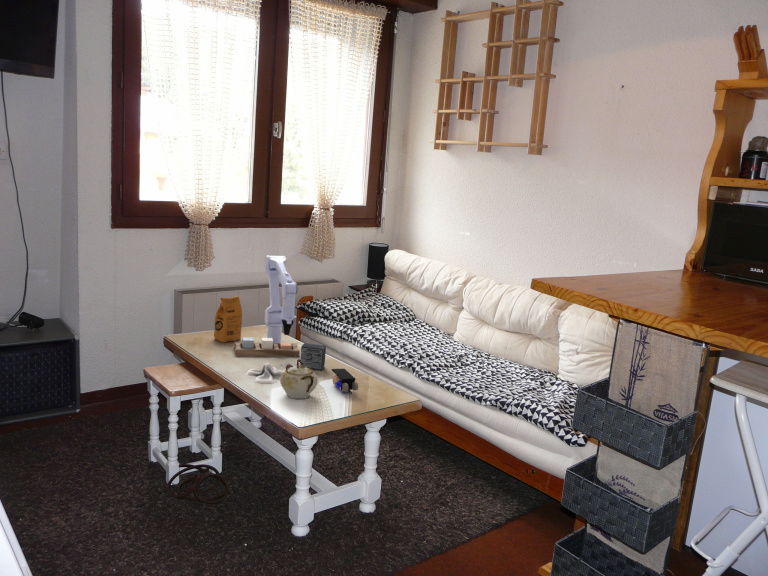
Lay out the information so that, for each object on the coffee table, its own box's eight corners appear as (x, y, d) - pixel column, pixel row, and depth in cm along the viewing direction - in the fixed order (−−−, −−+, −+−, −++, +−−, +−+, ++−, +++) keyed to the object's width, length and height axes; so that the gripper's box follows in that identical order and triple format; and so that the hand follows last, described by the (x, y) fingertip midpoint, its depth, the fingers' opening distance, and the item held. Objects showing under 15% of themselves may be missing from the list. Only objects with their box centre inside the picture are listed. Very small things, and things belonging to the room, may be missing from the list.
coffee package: (211, 338, 328) (213, 295, 323) (231, 335, 337) (234, 293, 333) (222, 343, 321) (224, 300, 317) (243, 340, 330) (245, 297, 326)
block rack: (234, 348, 315) (234, 342, 315) (296, 349, 323) (296, 343, 323) (235, 355, 304) (235, 349, 303) (299, 356, 312) (299, 350, 311)
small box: (325, 366, 301) (326, 345, 299) (322, 371, 294) (324, 348, 292) (302, 364, 301) (304, 342, 299) (299, 368, 295) (300, 346, 293)
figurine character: (358, 398, 269) (342, 382, 281) (360, 381, 266) (345, 366, 279) (343, 400, 265) (328, 383, 278) (345, 383, 263) (330, 367, 276)
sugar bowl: (269, 389, 265) (271, 354, 262) (300, 384, 274) (303, 350, 271) (294, 406, 250) (297, 369, 247) (326, 400, 259) (329, 364, 256)
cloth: (261, 387, 268) (262, 373, 267) (236, 374, 281) (236, 360, 279) (303, 378, 284) (304, 364, 283) (278, 366, 296) (278, 353, 295)
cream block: (261, 345, 315) (261, 337, 314) (271, 345, 316) (272, 338, 315) (261, 348, 310) (262, 340, 309) (272, 349, 311) (273, 340, 311)
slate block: (242, 345, 313) (242, 337, 312) (252, 345, 314) (253, 337, 313) (242, 348, 308) (243, 340, 307) (253, 348, 309) (253, 340, 308)
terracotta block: (279, 350, 318) (280, 342, 317) (289, 350, 319) (290, 342, 318) (280, 353, 313) (281, 345, 312) (291, 353, 314) (291, 345, 314)
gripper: (298, 311, 306) (296, 339, 309) (295, 303, 320) (293, 330, 322) (283, 310, 304) (281, 338, 307) (280, 303, 318) (278, 330, 320)
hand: (286, 334), depth 314 cm, fingers closed
